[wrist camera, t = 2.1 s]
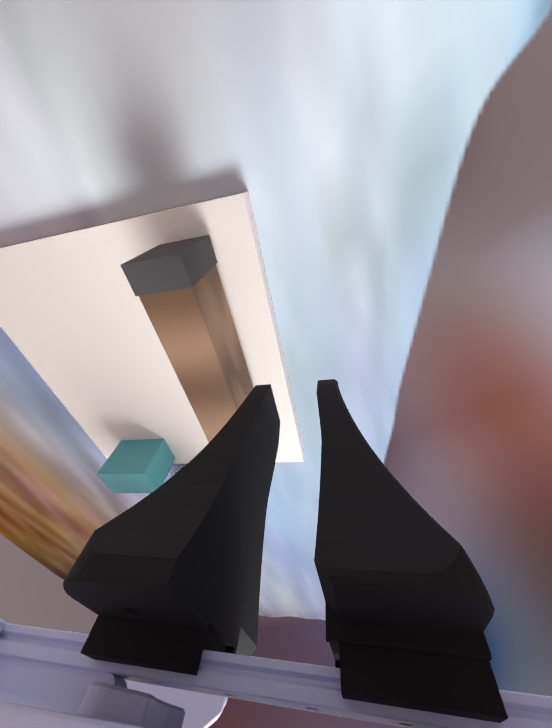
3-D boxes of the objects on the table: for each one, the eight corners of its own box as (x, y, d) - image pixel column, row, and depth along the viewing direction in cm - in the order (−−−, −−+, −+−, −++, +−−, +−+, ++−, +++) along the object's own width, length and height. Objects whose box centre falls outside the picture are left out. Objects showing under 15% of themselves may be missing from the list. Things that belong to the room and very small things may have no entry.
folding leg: (268, 432, 26) (259, 479, 22) (234, 433, 26) (220, 479, 22) (209, 234, 17) (175, 256, 13) (159, 244, 17) (114, 268, 13)
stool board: (304, 451, 29) (301, 501, 25) (117, 456, 34) (88, 498, 30) (248, 191, 17) (223, 201, 12) (-36, 255, 21) (-124, 279, 17)
